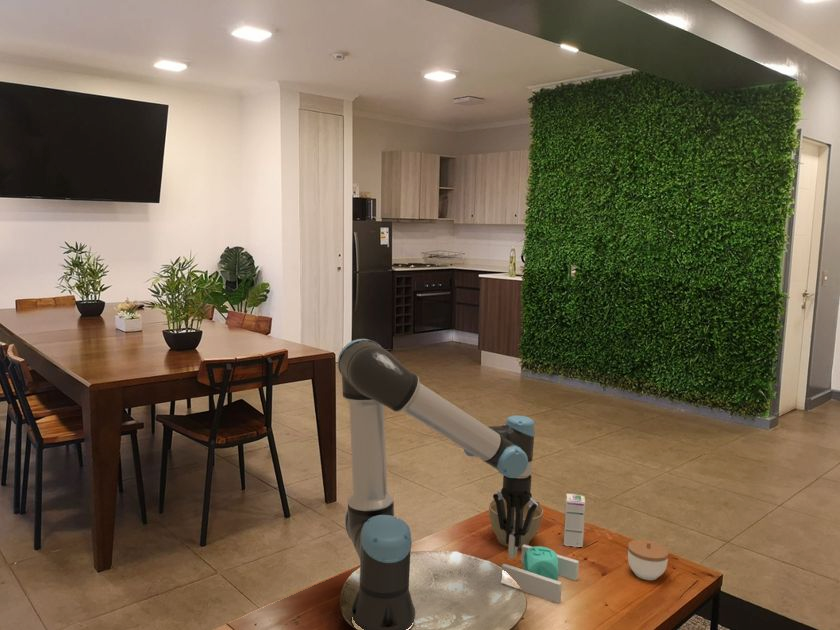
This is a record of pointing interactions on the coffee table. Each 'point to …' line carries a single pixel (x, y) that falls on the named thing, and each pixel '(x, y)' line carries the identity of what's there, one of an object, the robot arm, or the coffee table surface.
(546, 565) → the decorative dice
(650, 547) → the lidded jar
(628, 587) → the coffee table surface
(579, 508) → the syrup box
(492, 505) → the planter bowl
